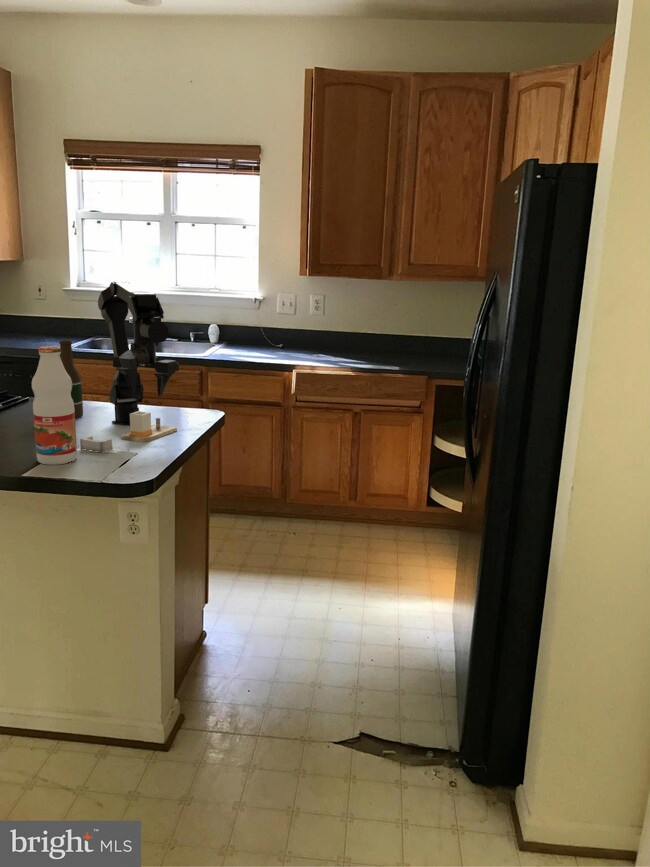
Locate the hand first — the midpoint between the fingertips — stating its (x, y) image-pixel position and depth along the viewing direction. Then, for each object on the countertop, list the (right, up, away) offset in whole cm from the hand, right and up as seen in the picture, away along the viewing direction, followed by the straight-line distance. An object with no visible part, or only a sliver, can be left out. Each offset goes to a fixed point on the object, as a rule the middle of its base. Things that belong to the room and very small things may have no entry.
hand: (146, 394), depth 194 cm
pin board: (0, -11, +3) cm, 12 cm away
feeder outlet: (-10, -15, -13) cm, 22 cm away
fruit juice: (-16, -18, -23) cm, 33 cm away
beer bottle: (-30, -6, +22) cm, 37 cm away
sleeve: (-1, -11, -1) cm, 11 cm away
